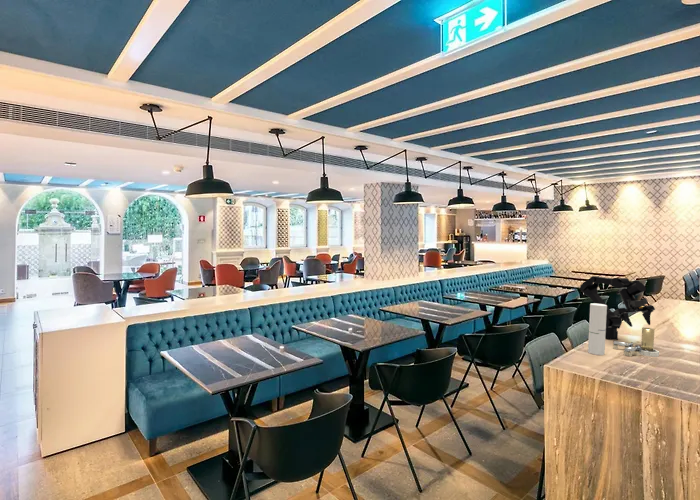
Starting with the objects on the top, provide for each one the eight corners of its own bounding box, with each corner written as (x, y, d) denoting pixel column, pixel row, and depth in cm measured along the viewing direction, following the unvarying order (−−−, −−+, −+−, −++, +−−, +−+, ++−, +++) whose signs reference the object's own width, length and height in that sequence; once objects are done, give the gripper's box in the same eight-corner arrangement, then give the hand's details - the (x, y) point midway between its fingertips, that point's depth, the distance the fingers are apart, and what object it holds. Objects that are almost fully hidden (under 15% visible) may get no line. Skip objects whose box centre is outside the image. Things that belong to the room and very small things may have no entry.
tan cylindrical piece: (637, 351, 200) (638, 327, 200) (648, 352, 200) (649, 327, 200) (645, 355, 195) (646, 329, 194) (656, 355, 195) (658, 330, 194)
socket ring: (641, 355, 194) (641, 351, 194) (632, 350, 203) (632, 346, 203) (663, 357, 192) (663, 353, 192) (652, 351, 201) (652, 348, 201)
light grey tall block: (607, 355, 192) (609, 306, 191) (591, 354, 194) (593, 305, 193) (600, 351, 199) (603, 303, 198) (585, 350, 201) (587, 303, 200)
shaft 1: (632, 350, 202) (632, 341, 202) (632, 351, 200) (632, 343, 200) (613, 347, 207) (613, 339, 207) (613, 348, 205) (613, 340, 205)
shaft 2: (635, 353, 197) (635, 344, 197) (641, 355, 194) (642, 346, 194) (623, 354, 195) (623, 345, 194) (629, 356, 192) (629, 347, 191)
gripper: (618, 295, 209) (630, 322, 201) (654, 291, 207) (667, 319, 199) (608, 302, 218) (619, 329, 211) (643, 298, 217) (655, 325, 209)
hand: (640, 325), depth 207 cm, fingers open, 9 cm apart
